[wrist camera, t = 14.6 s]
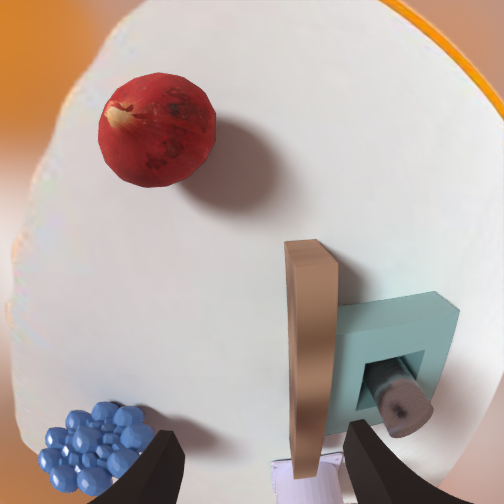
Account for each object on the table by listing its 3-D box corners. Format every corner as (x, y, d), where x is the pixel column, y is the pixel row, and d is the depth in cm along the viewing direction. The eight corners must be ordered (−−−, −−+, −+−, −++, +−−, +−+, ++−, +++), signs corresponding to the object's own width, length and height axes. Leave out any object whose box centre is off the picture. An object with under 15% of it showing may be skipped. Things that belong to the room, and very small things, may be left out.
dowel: (392, 369, 19) (426, 427, 12) (358, 380, 19) (385, 443, 13) (396, 340, 18) (438, 397, 12) (359, 350, 19) (393, 415, 12)
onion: (223, 92, 15) (199, 30, 7) (224, 182, 16) (197, 186, 8) (136, 103, 15) (64, 65, 7) (135, 188, 16) (57, 200, 9)
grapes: (92, 425, 23) (54, 497, 11) (63, 383, 21) (9, 457, 10) (179, 434, 22) (155, 533, 11) (154, 389, 21) (109, 502, 9)
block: (409, 382, 21) (426, 408, 17) (311, 403, 21) (318, 436, 17) (431, 289, 18) (459, 310, 14) (315, 305, 19) (329, 336, 15)
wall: (309, 437, 22) (316, 476, 17) (289, 440, 22) (293, 479, 17) (315, 239, 17) (338, 262, 12) (284, 241, 17) (295, 267, 12)
